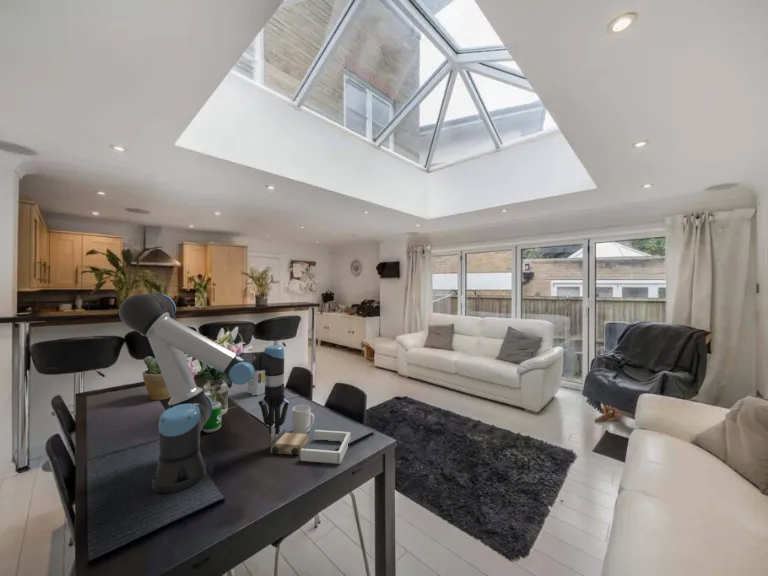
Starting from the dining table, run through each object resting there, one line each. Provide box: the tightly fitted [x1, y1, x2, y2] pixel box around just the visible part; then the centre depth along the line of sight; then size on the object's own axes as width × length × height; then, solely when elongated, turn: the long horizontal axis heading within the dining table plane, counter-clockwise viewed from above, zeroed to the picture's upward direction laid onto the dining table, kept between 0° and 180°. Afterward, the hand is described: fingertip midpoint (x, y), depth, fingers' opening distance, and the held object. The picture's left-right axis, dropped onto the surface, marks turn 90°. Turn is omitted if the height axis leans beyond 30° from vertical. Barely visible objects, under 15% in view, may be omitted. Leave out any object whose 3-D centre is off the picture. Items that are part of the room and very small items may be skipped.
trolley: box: [270, 429, 309, 456], centre depth 125 cm, size 12×10×5 cm
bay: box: [300, 429, 352, 465], centre depth 123 cm, size 16×15×4 cm
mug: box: [291, 404, 316, 434], centre depth 138 cm, size 12×8×10 cm, turn 53°
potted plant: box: [142, 355, 171, 401], centre depth 180 cm, size 18×19×25 cm
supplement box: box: [247, 371, 265, 395], centre depth 188 cm, size 10×9×17 cm
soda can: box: [202, 400, 222, 434], centre depth 140 cm, size 8×8×12 cm
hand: (274, 441), depth 126 cm, fingers closed
